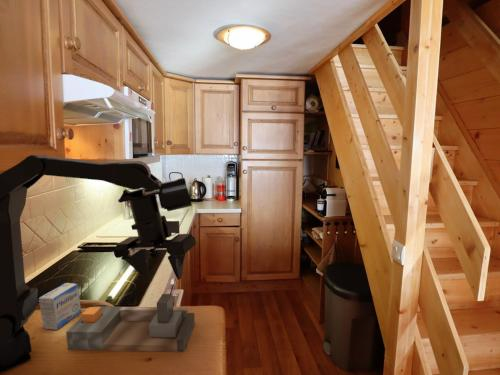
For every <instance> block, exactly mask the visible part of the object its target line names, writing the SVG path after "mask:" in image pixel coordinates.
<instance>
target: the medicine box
mask: <svg viewBox="0 0 500 375" xmlns="http://www.w3.org/2000/svg"><path fill="white" fill-rule="evenodd" d="M38 301H39V302H40V303H39V308H40V316H41V324H42V329H46V330H54V331H58V330H61V328H63V327H64V326H65V325H66V324H68V323H69V322H70V321H72V320H73V319H75V318H76V317H77V316H78V315H80V314H82V308H81V301H80V291H79V284H77V283H73V282H72V283H71V282H64V283H62V284H60V286H58V287H55V288H54V289H51V290H50V291H49V292H47V293H45V294H43V295H41V296H40V297H39V298H38Z"/></svg>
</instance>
